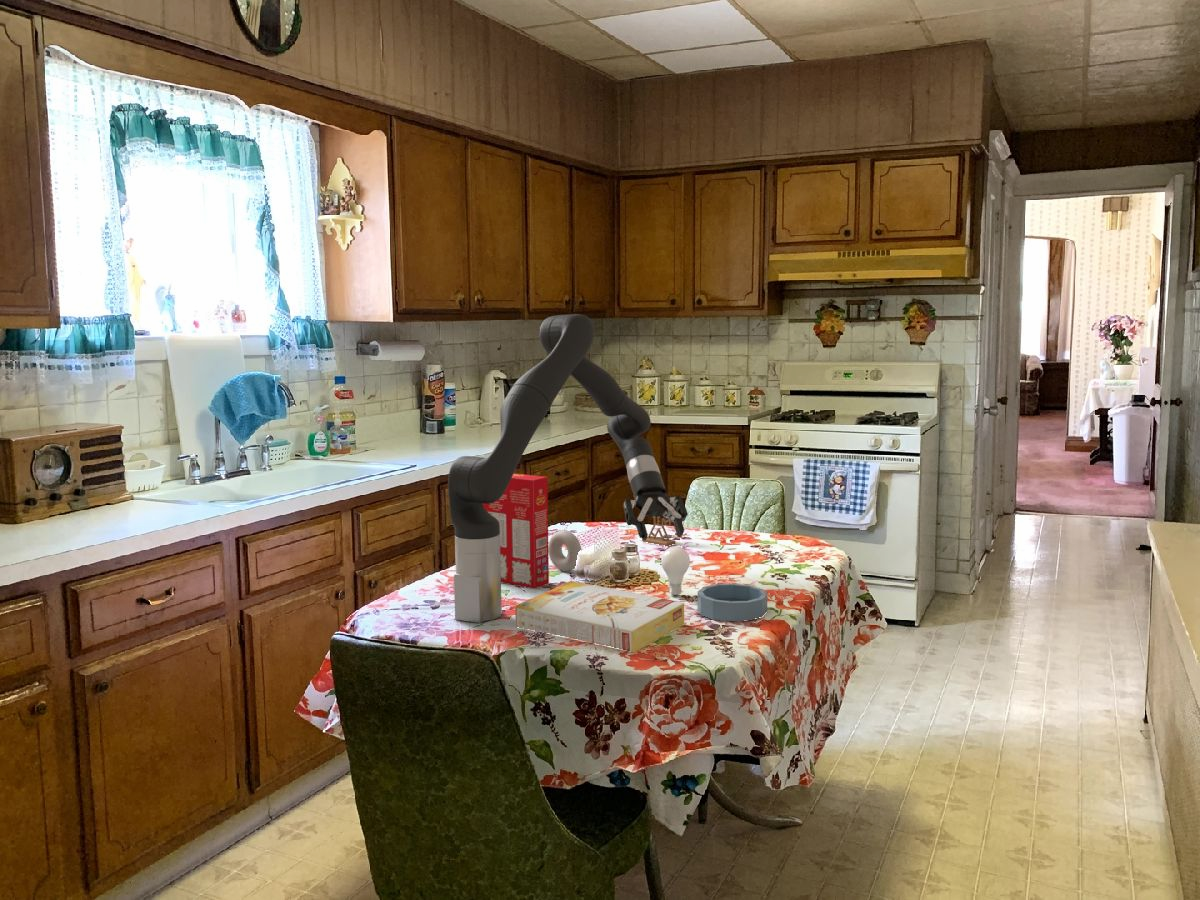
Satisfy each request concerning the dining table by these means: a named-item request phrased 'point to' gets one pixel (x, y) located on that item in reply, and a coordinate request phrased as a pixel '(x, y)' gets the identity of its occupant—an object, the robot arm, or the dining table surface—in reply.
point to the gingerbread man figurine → (660, 540)
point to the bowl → (732, 602)
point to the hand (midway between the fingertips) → (663, 536)
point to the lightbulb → (675, 567)
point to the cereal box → (601, 615)
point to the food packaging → (523, 530)
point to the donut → (556, 550)
